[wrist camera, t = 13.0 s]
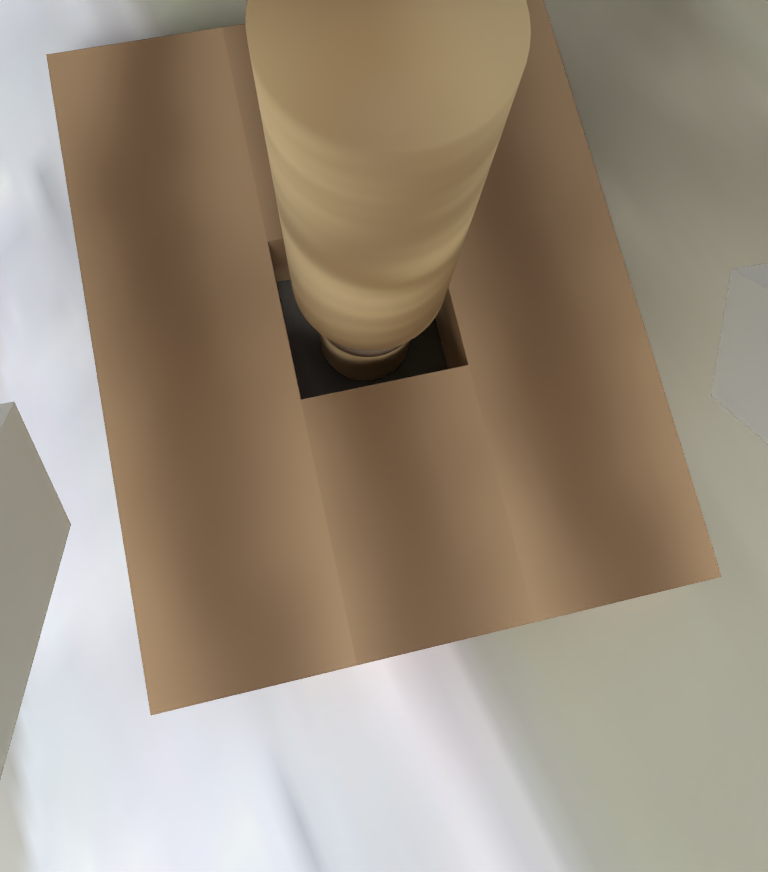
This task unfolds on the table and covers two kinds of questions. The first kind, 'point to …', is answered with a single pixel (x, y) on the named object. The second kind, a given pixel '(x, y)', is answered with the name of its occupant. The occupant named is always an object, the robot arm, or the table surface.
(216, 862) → the table surface
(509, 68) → the peg
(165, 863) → the table surface
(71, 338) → the table surface
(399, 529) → the board
